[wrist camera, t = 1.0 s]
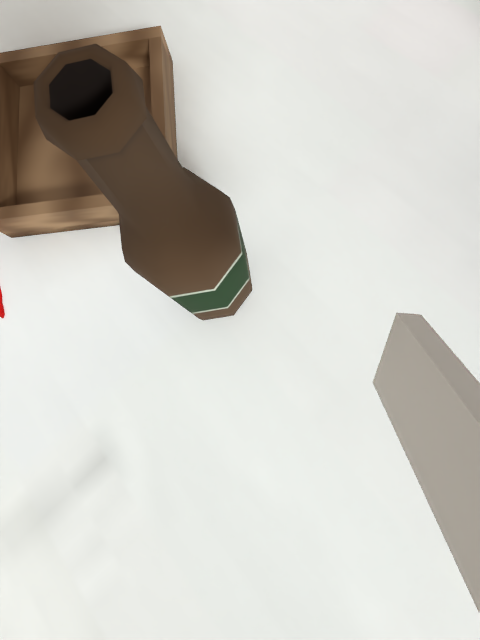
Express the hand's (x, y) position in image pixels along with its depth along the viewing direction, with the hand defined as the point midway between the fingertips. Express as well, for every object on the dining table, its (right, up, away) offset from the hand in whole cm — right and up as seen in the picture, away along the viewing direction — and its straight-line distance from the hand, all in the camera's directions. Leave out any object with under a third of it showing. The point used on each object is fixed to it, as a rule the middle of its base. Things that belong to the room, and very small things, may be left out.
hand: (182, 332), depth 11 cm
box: (-14, +19, +27) cm, 36 cm away
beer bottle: (-1, +4, +24) cm, 24 cm away
